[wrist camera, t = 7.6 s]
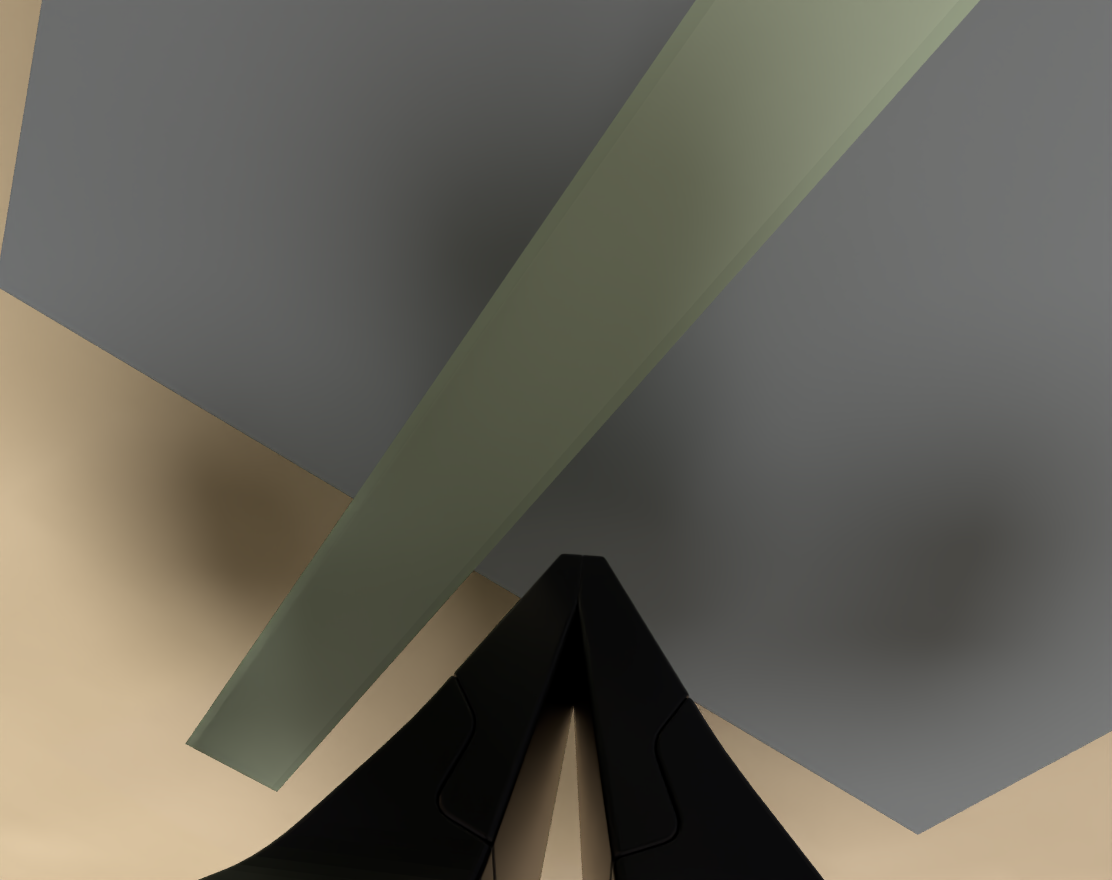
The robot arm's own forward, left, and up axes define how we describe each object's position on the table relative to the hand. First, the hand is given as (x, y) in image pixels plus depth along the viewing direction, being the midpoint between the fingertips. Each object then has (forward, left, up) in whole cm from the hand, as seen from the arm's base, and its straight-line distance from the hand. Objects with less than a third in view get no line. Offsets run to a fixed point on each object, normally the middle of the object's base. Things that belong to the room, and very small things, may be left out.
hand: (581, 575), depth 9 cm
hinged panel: (-2, -3, -1) cm, 4 cm away
